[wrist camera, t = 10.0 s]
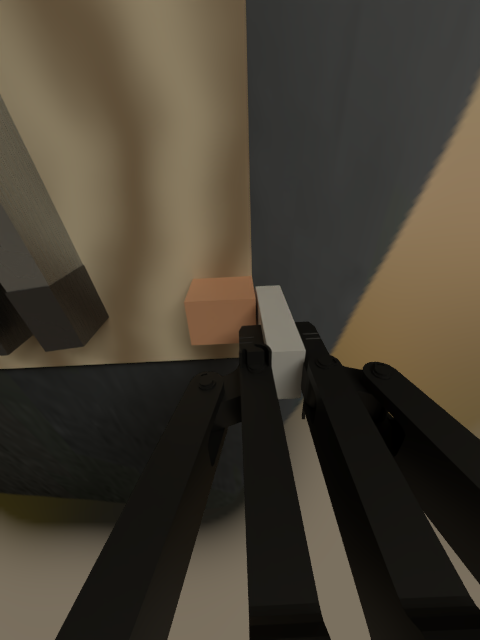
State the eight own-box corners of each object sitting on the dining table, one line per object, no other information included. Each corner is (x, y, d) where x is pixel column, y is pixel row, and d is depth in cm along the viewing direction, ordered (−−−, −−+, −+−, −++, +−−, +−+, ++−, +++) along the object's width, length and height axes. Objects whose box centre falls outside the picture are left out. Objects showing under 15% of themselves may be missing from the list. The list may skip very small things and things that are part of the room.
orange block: (198, 317, 19) (191, 345, 16) (192, 279, 17) (183, 302, 14) (252, 314, 18) (256, 342, 15) (251, 275, 17) (255, 298, 14)
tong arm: (-55, 90, 12) (-157, 62, 9) (-6, 80, 12) (-92, 47, 9) (77, 321, 19) (45, 351, 15) (109, 317, 18) (84, 346, 15)
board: (-93, 364, 22) (-109, 374, 21) (-475, -39, 10) (-553, -62, 9) (252, 347, 22) (253, 356, 21) (242, -81, 10) (242, -108, 9)
